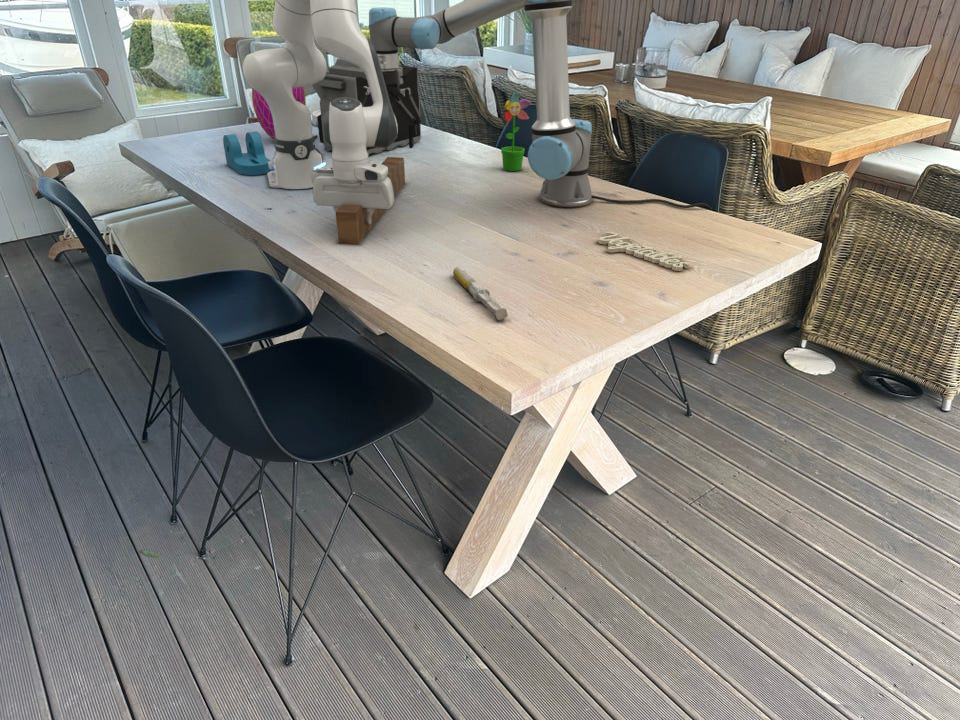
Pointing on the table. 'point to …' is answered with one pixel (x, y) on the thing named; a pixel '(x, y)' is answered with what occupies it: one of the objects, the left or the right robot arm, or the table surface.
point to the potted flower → (513, 154)
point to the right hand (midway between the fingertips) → (389, 146)
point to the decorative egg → (264, 110)
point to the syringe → (479, 293)
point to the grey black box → (350, 82)
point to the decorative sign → (642, 251)
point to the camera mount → (246, 154)
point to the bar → (353, 215)
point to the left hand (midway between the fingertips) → (355, 223)
